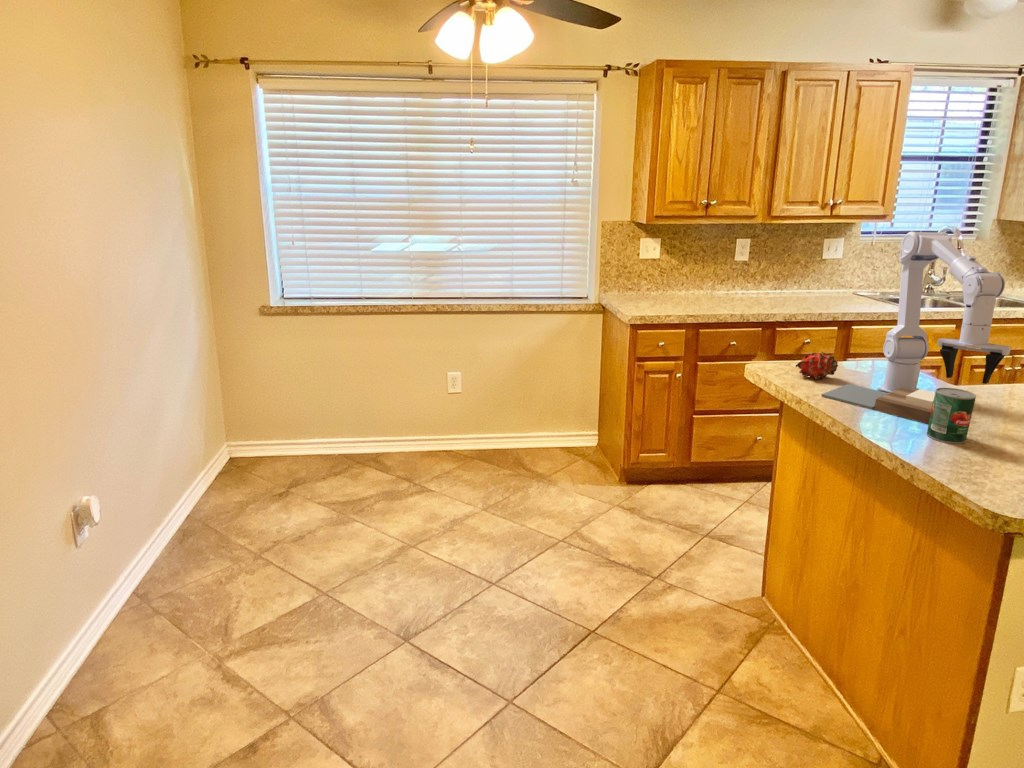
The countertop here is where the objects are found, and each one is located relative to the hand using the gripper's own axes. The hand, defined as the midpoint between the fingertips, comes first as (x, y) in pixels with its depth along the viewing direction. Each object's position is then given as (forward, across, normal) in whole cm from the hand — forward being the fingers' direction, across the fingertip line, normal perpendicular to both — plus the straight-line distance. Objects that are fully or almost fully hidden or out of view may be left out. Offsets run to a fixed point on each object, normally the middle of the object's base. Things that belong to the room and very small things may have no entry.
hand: (967, 380), depth 162 cm
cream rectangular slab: (+7, -9, +1) cm, 11 cm away
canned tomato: (+12, +1, -12) cm, 17 cm away
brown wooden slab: (+10, -11, +2) cm, 15 cm away
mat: (+10, -25, +2) cm, 27 cm away
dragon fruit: (+9, -42, +10) cm, 44 cm away
